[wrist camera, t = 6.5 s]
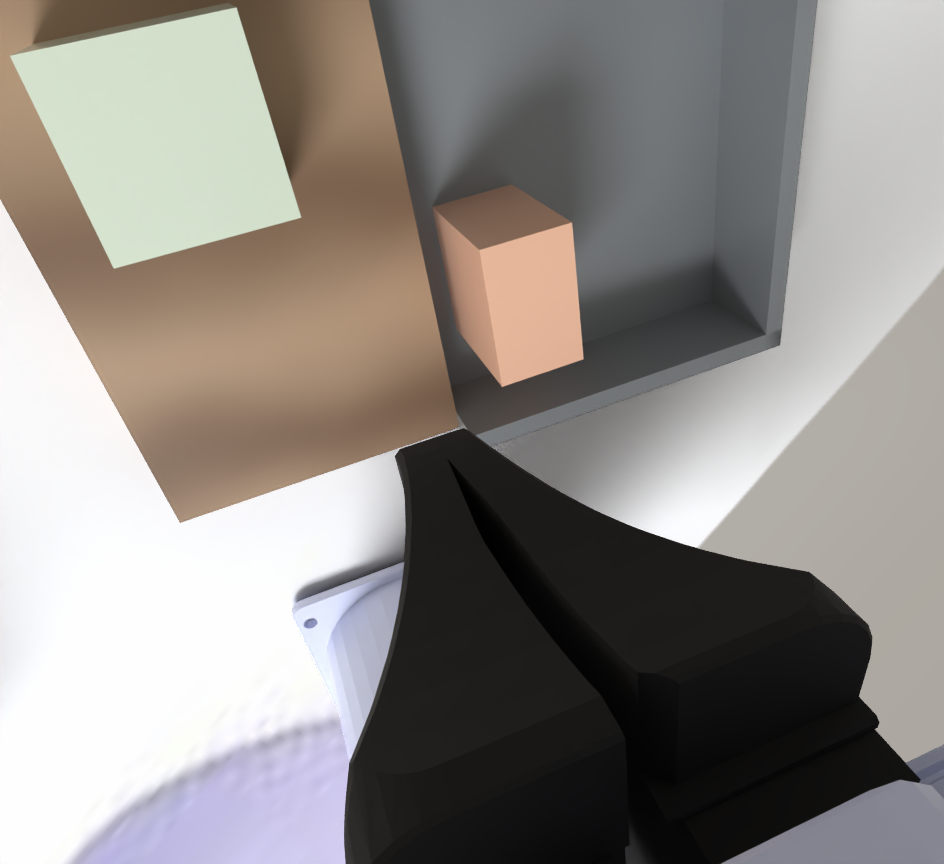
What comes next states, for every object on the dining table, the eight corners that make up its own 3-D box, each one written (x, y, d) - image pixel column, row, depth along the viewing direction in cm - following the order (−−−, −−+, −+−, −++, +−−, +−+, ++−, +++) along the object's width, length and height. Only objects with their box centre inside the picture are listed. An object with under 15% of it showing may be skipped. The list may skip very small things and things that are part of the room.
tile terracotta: (456, 329, 23) (527, 306, 23) (502, 386, 20) (583, 359, 20) (432, 206, 20) (511, 184, 21) (479, 250, 17) (572, 222, 18)
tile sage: (286, 189, 17) (301, 217, 15) (121, 233, 17) (113, 268, 15) (228, 2, 15) (236, 7, 13) (32, 44, 14) (9, 55, 12)
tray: (716, 306, 27) (779, 345, 24) (441, 397, 25) (474, 451, 22) (741, -233, 18) (846, -270, 15) (315, -159, 16) (346, -186, 13)
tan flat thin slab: (441, 397, 25) (459, 427, 23) (179, 484, 23) (179, 522, 21) (315, -159, 16) (331, -173, 14) (-122, -83, 14) (-160, -89, 13)
